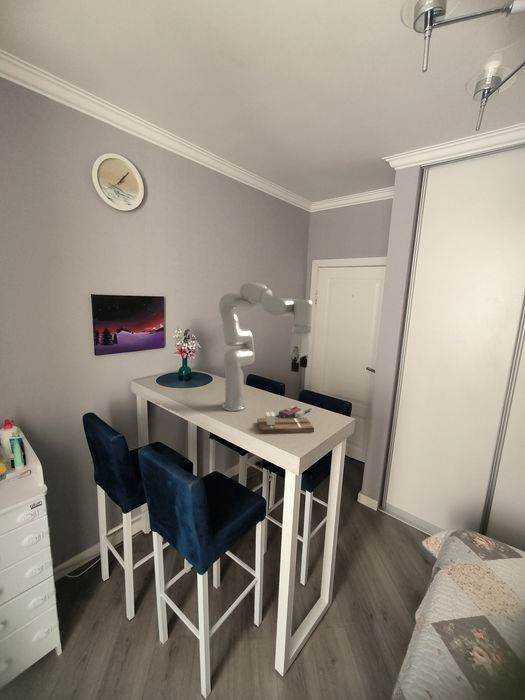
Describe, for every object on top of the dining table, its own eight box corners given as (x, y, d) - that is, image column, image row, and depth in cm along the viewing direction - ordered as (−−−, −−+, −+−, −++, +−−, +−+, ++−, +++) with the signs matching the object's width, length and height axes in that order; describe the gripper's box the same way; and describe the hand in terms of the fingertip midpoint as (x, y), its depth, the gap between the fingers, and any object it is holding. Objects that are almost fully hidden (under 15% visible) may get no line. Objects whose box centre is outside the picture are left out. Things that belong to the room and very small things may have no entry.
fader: (265, 420, 143) (265, 411, 142) (272, 420, 143) (273, 411, 142) (266, 425, 138) (267, 416, 137) (274, 424, 138) (275, 415, 138)
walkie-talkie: (290, 422, 149) (312, 411, 163) (290, 413, 148) (313, 404, 163) (276, 417, 154) (299, 407, 169) (276, 408, 154) (299, 399, 168)
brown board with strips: (257, 422, 146) (257, 418, 146) (306, 421, 150) (306, 417, 149) (260, 433, 134) (260, 429, 134) (313, 432, 138) (314, 427, 137)
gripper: (300, 327, 138) (298, 364, 141) (285, 330, 123) (282, 372, 126) (316, 328, 134) (314, 366, 137) (302, 332, 119) (300, 374, 122)
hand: (299, 369), depth 131 cm, fingers open, 9 cm apart
